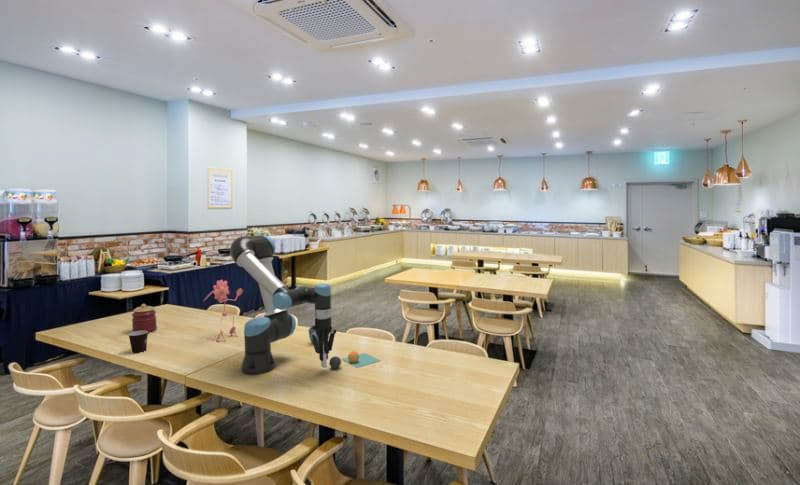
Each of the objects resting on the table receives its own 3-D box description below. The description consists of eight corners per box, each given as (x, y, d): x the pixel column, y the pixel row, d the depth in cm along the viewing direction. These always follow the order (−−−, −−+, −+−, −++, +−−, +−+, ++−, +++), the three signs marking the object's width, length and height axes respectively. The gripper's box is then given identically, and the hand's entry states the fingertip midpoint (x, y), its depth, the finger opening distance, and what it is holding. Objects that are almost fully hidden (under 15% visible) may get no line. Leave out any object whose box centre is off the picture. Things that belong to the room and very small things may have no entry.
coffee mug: (139, 354, 209) (138, 335, 208) (125, 353, 211) (124, 334, 210) (157, 347, 221) (156, 329, 220) (143, 346, 222) (142, 328, 222)
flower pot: (328, 340, 232) (327, 325, 231) (323, 345, 223) (323, 329, 223) (313, 340, 233) (313, 325, 232) (308, 345, 224) (308, 329, 224)
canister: (134, 330, 253) (133, 302, 252) (158, 327, 258) (157, 300, 257) (130, 335, 241) (129, 307, 240) (155, 333, 247) (154, 305, 245)
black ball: (342, 357, 189) (343, 367, 191) (337, 352, 194) (338, 362, 195) (331, 361, 186) (333, 372, 188) (326, 357, 191) (328, 367, 192)
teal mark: (357, 367, 191) (357, 367, 191) (342, 359, 202) (342, 359, 202) (380, 360, 200) (380, 360, 200) (364, 353, 211) (364, 352, 211)
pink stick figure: (248, 333, 246) (245, 276, 244) (215, 346, 222) (211, 284, 220) (229, 331, 252) (226, 276, 250) (194, 343, 228) (191, 282, 226)
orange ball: (354, 351, 195) (362, 354, 198) (348, 348, 199) (356, 351, 203) (350, 363, 194) (359, 364, 197) (344, 359, 198) (353, 361, 202)
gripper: (314, 321, 179) (314, 372, 181) (339, 316, 187) (340, 365, 189) (306, 318, 185) (307, 367, 187) (331, 313, 193) (332, 361, 195)
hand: (323, 366), depth 188 cm, fingers closed
